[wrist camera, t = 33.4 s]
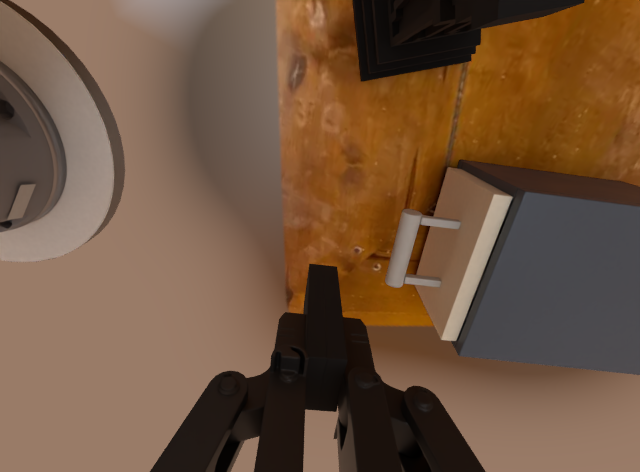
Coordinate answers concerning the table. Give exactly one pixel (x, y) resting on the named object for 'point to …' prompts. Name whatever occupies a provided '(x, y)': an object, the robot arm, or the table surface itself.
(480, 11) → the chess piece
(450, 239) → the drawer
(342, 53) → the table surface
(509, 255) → the cabinet
